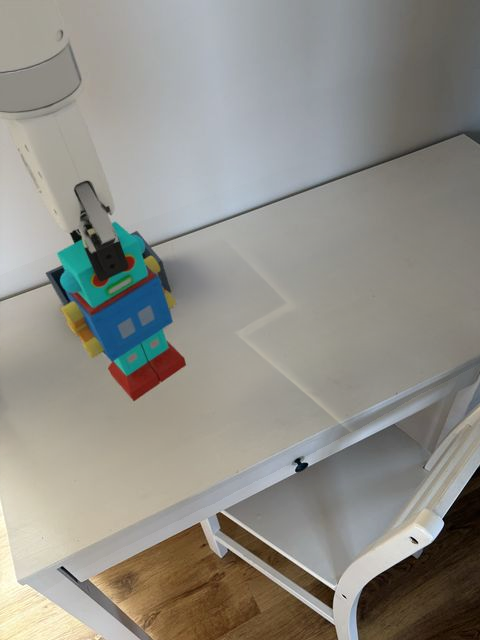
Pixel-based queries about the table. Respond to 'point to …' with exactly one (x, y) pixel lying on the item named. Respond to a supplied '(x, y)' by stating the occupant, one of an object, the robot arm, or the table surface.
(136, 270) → the toy robot
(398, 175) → the table surface
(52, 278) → the tote
